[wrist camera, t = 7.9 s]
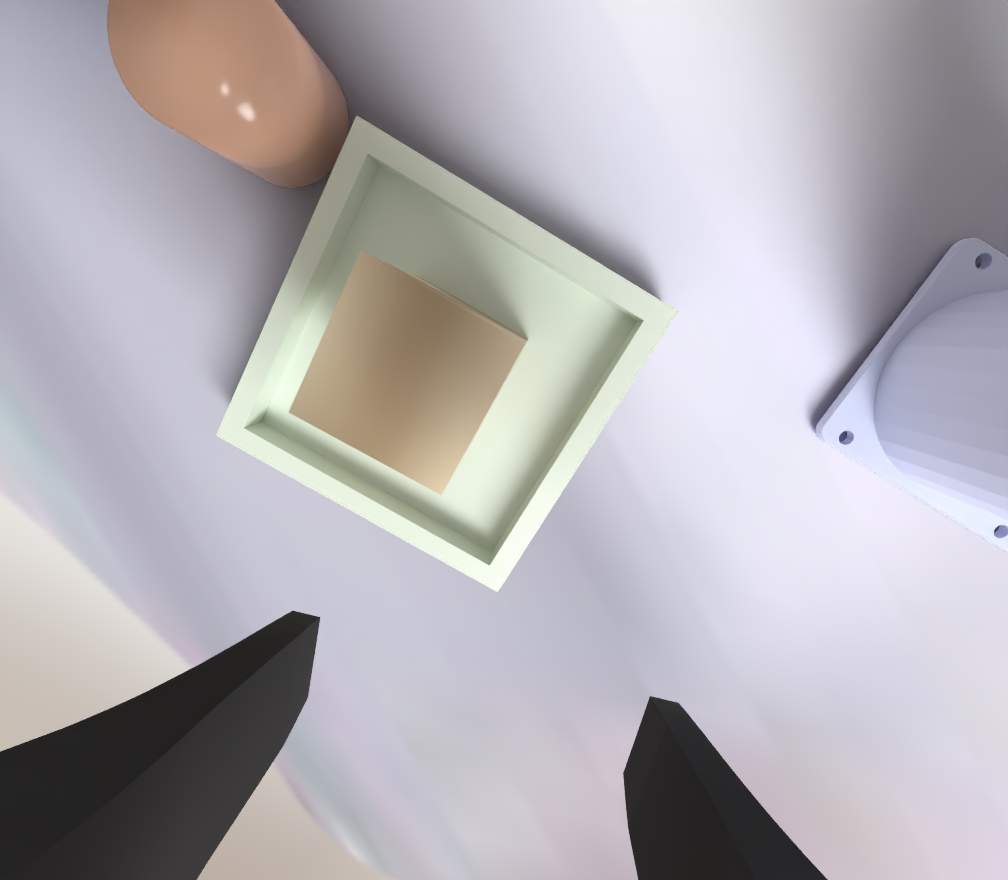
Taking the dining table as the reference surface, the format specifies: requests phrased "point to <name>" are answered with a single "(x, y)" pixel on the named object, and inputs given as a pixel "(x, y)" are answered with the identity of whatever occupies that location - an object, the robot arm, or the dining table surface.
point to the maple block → (405, 372)
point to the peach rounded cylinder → (233, 83)
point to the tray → (491, 290)
